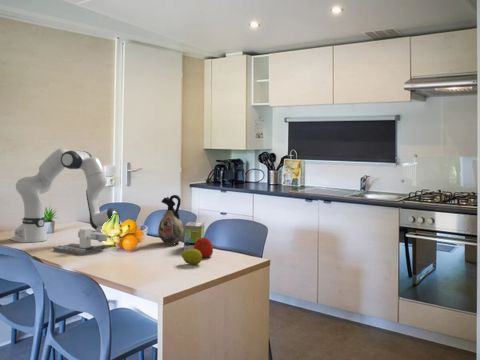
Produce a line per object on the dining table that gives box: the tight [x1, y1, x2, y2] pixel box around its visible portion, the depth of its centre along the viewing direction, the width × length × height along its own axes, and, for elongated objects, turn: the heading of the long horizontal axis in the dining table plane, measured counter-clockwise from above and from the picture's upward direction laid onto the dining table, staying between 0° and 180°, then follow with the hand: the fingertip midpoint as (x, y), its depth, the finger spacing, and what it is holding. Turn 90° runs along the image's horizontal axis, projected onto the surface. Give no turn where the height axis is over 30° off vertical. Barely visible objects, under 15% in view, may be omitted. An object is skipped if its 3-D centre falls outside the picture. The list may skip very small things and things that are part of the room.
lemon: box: [180, 249, 203, 266], centre depth 223 cm, size 11×8×8 cm
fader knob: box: [78, 227, 93, 249], centre depth 246 cm, size 6×5×10 cm
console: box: [52, 242, 102, 257], centre depth 249 cm, size 21×14×3 cm, turn 62°
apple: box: [194, 237, 214, 258], centre depth 241 cm, size 10×10×10 cm
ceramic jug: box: [157, 194, 185, 245], centre depth 275 cm, size 17×15×30 cm
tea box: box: [183, 221, 205, 252], centre depth 261 cm, size 15×10×15 cm, turn 179°
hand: (83, 237), depth 245 cm, fingers closed on fader knob, 4 cm apart
